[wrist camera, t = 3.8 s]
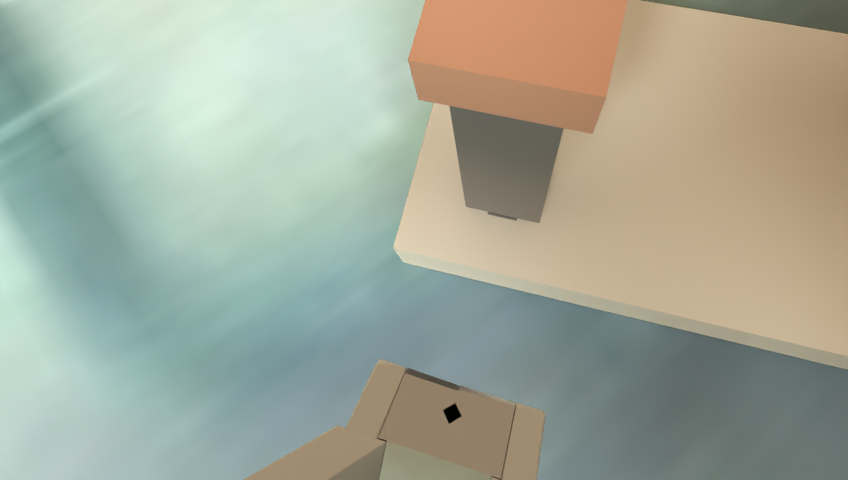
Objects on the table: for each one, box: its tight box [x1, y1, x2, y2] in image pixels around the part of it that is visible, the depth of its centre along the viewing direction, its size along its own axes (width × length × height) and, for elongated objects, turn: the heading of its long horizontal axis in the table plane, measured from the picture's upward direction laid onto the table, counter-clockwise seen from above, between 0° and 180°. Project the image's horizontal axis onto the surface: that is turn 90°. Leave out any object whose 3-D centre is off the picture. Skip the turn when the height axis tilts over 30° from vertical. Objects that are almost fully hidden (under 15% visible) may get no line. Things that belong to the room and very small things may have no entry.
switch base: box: [393, 0, 848, 370], centre depth 27 cm, size 13×23×3 cm, turn 75°
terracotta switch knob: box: [408, 0, 628, 223], centre depth 20 cm, size 3×4×12 cm
